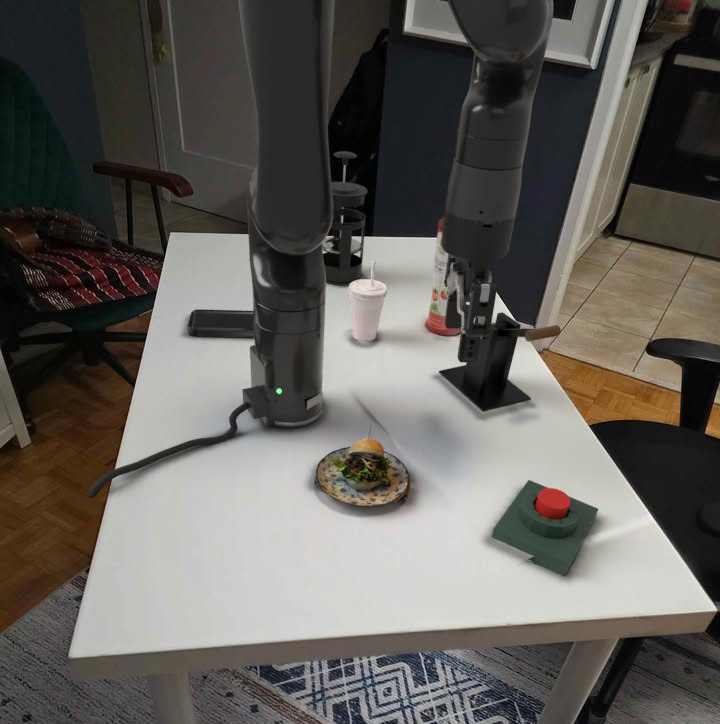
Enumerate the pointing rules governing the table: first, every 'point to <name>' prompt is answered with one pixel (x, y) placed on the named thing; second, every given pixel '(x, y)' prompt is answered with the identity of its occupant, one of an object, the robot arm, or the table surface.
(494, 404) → the black stand
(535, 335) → the toast lever
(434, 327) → the liquor
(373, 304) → the smoothie
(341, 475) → the burger
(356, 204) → the french press
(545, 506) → the power button
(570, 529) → the green piece
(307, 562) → the table surface
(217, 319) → the phone
